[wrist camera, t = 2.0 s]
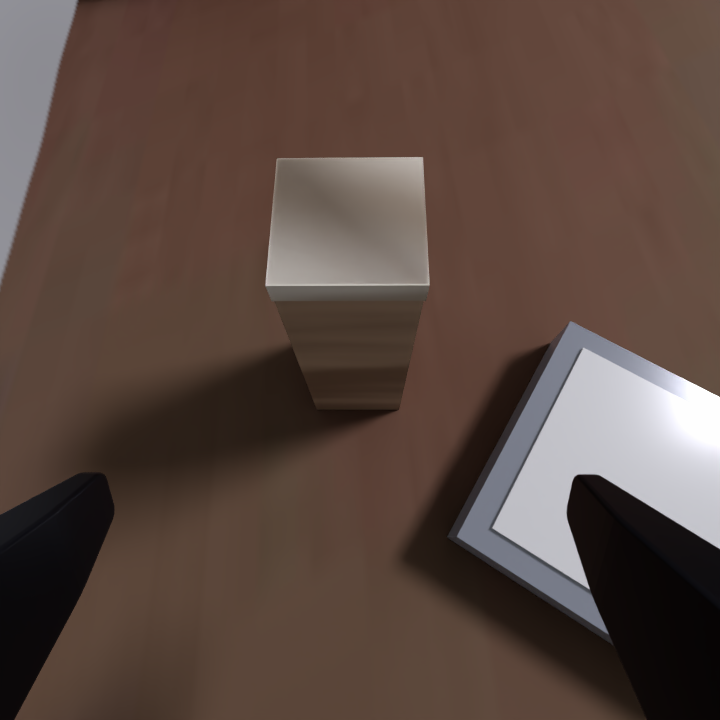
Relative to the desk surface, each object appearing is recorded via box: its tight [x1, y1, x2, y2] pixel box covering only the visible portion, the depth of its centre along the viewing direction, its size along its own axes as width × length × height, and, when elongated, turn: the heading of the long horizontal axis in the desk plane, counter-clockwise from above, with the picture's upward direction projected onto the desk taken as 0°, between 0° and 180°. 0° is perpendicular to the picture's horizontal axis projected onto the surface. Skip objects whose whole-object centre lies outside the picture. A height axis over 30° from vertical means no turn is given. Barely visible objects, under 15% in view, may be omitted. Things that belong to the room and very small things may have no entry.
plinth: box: [447, 321, 720, 645], centre depth 20 cm, size 11×11×3 cm
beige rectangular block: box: [266, 157, 429, 410], centre depth 18 cm, size 4×4×12 cm
